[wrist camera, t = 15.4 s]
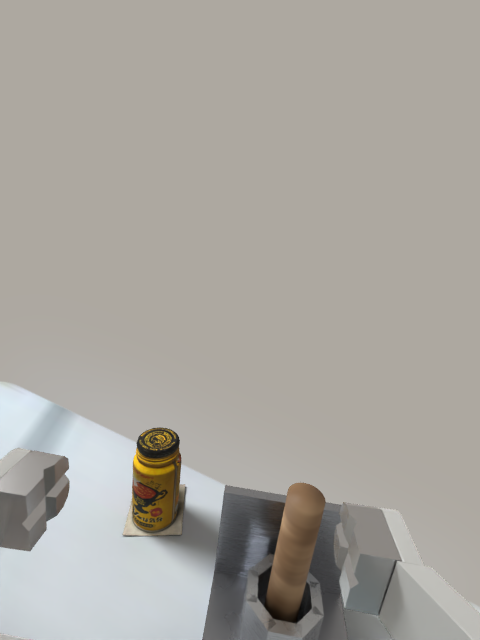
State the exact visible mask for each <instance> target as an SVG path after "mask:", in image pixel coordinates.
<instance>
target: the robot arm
mask: <svg viewBox="0 0 480 640" xmlns="http://www.w3.org/2000/svg"><path fill="white" fill-rule="evenodd" d="M68 469H69V463H68V458H66V457H65V456H59V455H54V454H49V453H44V452H39V451H31V450H26V449H21V448H17V449H13V450H12V451H10V452H9V453H8V454H7V455H6V456H4V457H3V458H2V459H1V460H0V547H4V548H10V549H17V550H24V551H31V549H32V548H33V547H34V545H35V544H36V543H37V541H38V540H39V539H40V537H41V536H42V535H43V533H44V532H45V531H46V521H48V520H50V519H52V518H54V517H55V516H57V515H58V513H59V512H60V510H61V509H62V508H63V506H64V503H65V501H66V499H67V497H68V492H69V480H68V478H67V477H66V475H65V474H64V473H65V472H66V471H67V470H68ZM339 514H340V519H341V522H340V523H339V524H338V525H336V529H335V533H334V556H335V562H336V565H337V566H338V568H339V569H340V570H341V571H342V572H341V576H340V580H339V583H340V588H341V593H342V597H343V602H344V607H345V609H349V610H354V611H359V612H363V613H368V614H373V615H377V616H379V619H380V621H381V622H382V624H383V625H384V626H385V628H386V629H387V631H388V632H389V634H390V635H391V637H392V638H393V640H480V613H479V612H478V611H477V610H476V609H475V608H474V607H473V606H472V605H471V604H470V603H469V602H467V601H466V600H465V599H464V598H463V597H462V596H461V595H460V594H459V593H458V592H457V591H456V590H455V589H454V588H453V587H452V586H451V585H449V584H448V583H447V582H446V581H445V580H444V579H443V578H442V577H441V576H440V575H439V574H438V573H437V572H436V571H435V570H434V569H432V568H431V567H428V566H425V565H424V563H423V561H422V558H421V556H420V554H419V552H418V550H417V548H416V546H415V543H414V542H413V539H412V537H411V535H410V533H409V531H408V528H407V526H406V524H405V522H404V520H403V518H402V516H401V514H400V512H399V511H397V510H392V509H385V508H376V507H370V506H364V505H358V504H351V503H343V504H342V505H341V508H340V512H339ZM0 640H32V639H27V638H22V637H17V636H12V635H6V634H1V633H0Z"/></svg>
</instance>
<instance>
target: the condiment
mask: <svg viewBox="0 0 480 640" xmlns="http://www.w3.org/2000/svg"><path fill="white" fill-rule="evenodd" d="M179 441H180V440H179V437H178V435H177V434H176V433H175V432H174V431H172V430H170V429H167V428H153V429H150V430H147V431H145V432H143V433H142V434H141V435H140V436H139V438H138V441H137V449H136V455H135V456H134V460H133V486H132V501H131V505H130V509H129V513H128V517H127V521H126V525H125V528H124V532H123V535H138V536H153V535H182V522H183V508H184V494H185V484H184V485H179V484H180V470H181V454H180V453H179Z"/></svg>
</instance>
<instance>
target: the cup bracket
mask: <svg viewBox="0 0 480 640" xmlns="http://www.w3.org/2000/svg"><path fill="white" fill-rule="evenodd" d="M286 498H287V496H285V495H279V494H273V493H267V492H262V491H256V490H250V489H244V488H239V487H233V486H227V485H225V491H224V498H223V506H222V514H221V522H220V531H219V539H218V547H217V555H216V564H215V572H214V577H213V583H212V588H211V594H210V600H209V605H208V611H207V617H206V622H205V628H204V633H203V639H202V640H348V636H347V630H346V625H345V619H344V613H343V608H342V602H341V597H340V593H341V588H340V583H339V580H340V576H341V572H342V571H341V570H340V569H339V568H338V566H337V565H336V562H335V556H334V533H335V529H336V525H338V524H339V523H340V522H341V519H340V514H339V512H340V508H341V505H338V504H332V503H326V502H325V507H324V512H323V516H322V520H321V524H320V528H319V532H318V536H317V540H316V544H315V548H314V552H313V556H312V560H311V564H310V568H309V572H308V576H307V580H306V584H305V589H304V593H303V597H302V601H301V605H300V609H299V613H298V617H297V621H296V623H291V622H285V621H280V620H275V619H273V618H272V617H271V615H270V614H269V613H268V612H267V610H266V609H265V608H264V604H265V599H266V595H267V590H268V585H269V580H270V575H271V570H272V566H273V561H274V556H275V551H276V546H277V541H278V536H279V532H280V527H281V522H282V517H283V512H284V507H285V503H286Z"/></svg>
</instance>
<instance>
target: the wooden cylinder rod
mask: <svg viewBox="0 0 480 640" xmlns="http://www.w3.org/2000/svg"><path fill="white" fill-rule="evenodd" d="M324 507H325V498H324V496H323V494H322V493H321V492H320V491H319V490H318V489H317V488H315V487H314V486H312V485H310V484H306V483H295V484H293V485H291V486H290V487H289V489H288V493H287V498H286V503H285V507H284V512H283V517H282V522H281V527H280V532H279V536H278V541H277V546H276V551H275V556H274V561H273V566H272V570H271V575H270V580H269V585H268V590H267V595H266V599H265V604H264V608H265V609H266V610H267V612H268V613H269V614H270V615H271V617H272V618H273V619H275V620H280V621H285V622H291V623H296V621H297V617H298V613H299V609H300V605H301V601H302V597H303V593H304V589H305V584H306V580H307V576H308V572H309V568H310V564H311V560H312V556H313V552H314V548H315V544H316V540H317V536H318V532H319V528H320V524H321V520H322V516H323V512H324Z"/></svg>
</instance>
